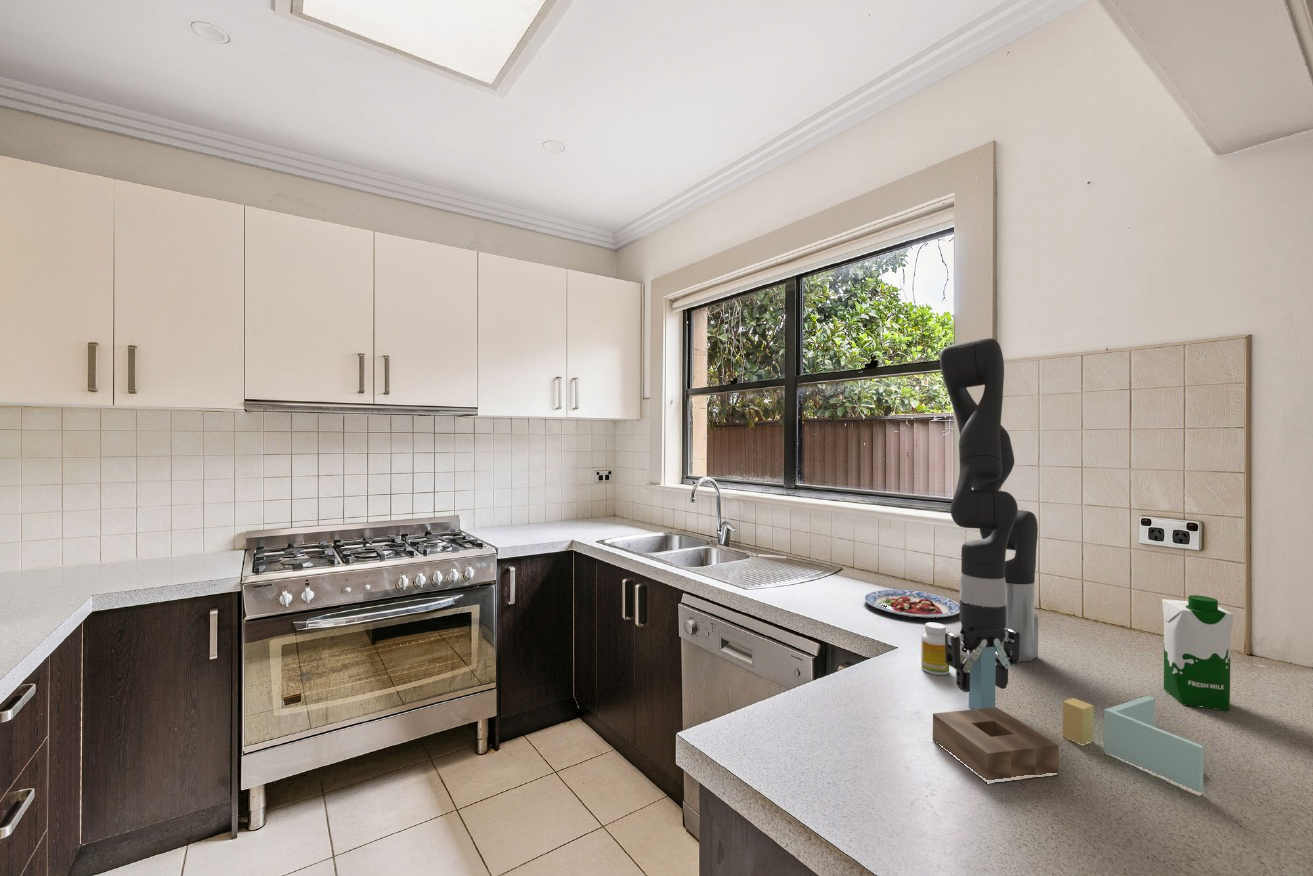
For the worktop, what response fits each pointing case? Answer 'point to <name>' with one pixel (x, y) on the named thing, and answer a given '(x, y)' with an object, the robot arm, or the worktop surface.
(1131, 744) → the l-shaped corner panel
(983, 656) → the long peg
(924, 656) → the supplement bottle
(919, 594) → the ceramic plate
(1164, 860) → the worktop surface
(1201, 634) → the milk carton
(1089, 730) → the short peg
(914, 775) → the worktop surface
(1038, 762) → the hole block
